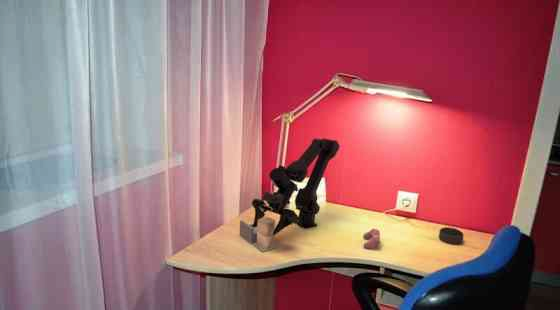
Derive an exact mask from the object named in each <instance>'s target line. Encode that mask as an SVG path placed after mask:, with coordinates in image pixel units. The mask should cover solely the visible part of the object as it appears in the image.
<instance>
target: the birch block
mask: <svg viewBox="0 0 560 310" xmlns="http://www.w3.org/2000/svg"><path fill="white" fill-rule="evenodd" d="M275 227H276V219H274V218H271V217H269V216H266V215H265V216H264V217H263V218H261V219H258V224H257V246H260V247H262V248H264V249H267V248H269V247H271V246H273V245H274V244H275V235H273V231H274V229H275Z"/></svg>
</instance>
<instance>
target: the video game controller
mask: <svg viewBox="0 0 560 310" xmlns="http://www.w3.org/2000/svg"><path fill="white" fill-rule="evenodd" d="M380 235H381V233H380V230H379V229H376V228H374V227H373V228H372V229H371V230H369V231H368V232H365V233H363V235H362V238H363V239H364V240H368V241H366V242H364V244H363V245H362V247H363V248H364V249H366V250H368V249H372V248H374V247H375V246H377V245H378V244H380V242H381V237H380Z"/></svg>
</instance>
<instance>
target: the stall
mask: <svg viewBox="0 0 560 310" xmlns="http://www.w3.org/2000/svg"><path fill="white" fill-rule="evenodd" d="M253 224H254V222H253V223H248V222H246V221H244V219H243V220H242V219H240V220H239V235H240V236H241V237H242V238H243V239H244V240H246V241H247V242H248V243H250V244H251V245H252V243H256V242H257V226H256V227H255V228H254V227H253Z"/></svg>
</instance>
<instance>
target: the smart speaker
mask: <svg viewBox="0 0 560 310" xmlns="http://www.w3.org/2000/svg"><path fill="white" fill-rule="evenodd" d="M438 233H439V234H438V238H439V239H440V240H441V242H444V243H447V244H450V245H460V244H462V243H463V241H464V233H463V232H462V231H461V230H460V229H457V228H454V227H449V226H448V227H447V226H445V227H441V228H440V229H439V232H438Z"/></svg>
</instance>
